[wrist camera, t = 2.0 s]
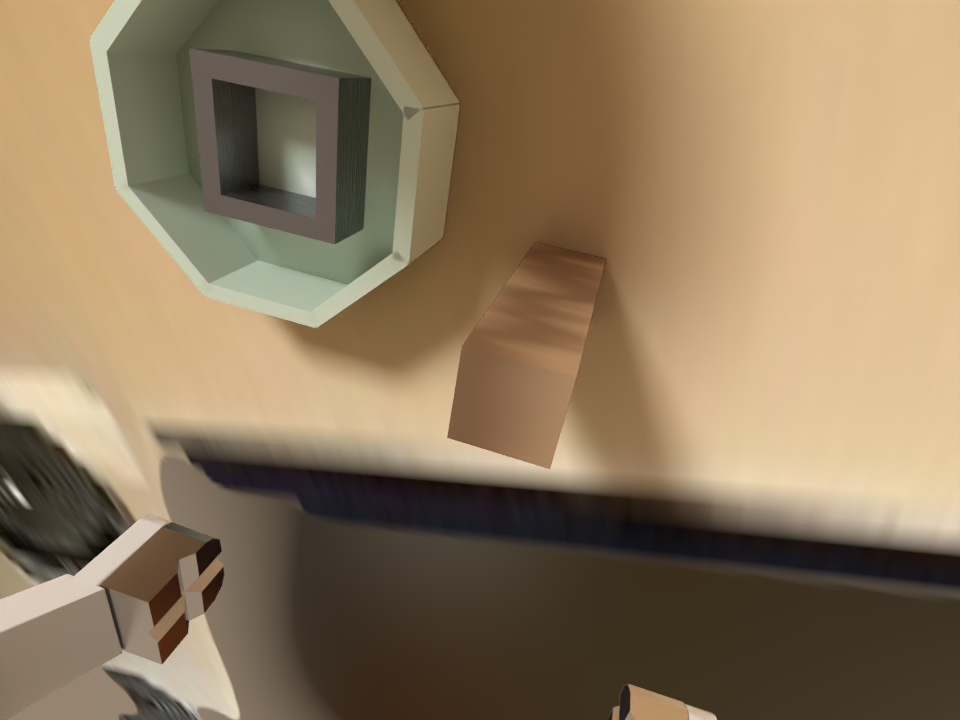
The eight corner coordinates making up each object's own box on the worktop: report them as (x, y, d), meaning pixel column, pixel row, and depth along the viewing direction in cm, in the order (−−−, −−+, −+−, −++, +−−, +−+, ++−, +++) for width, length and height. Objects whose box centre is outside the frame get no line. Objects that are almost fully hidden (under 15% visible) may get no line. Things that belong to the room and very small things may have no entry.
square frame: (371, 78, 25) (338, 78, 22) (363, 228, 28) (334, 244, 26) (235, 50, 26) (189, 47, 23) (243, 199, 29) (204, 211, 27)
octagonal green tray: (475, -15, 22) (437, -34, 18) (433, 316, 30) (400, 352, 26) (158, -67, 25) (66, -94, 21) (193, 251, 32) (130, 275, 28)
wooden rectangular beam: (605, 258, 26) (576, 377, 16) (587, 324, 28) (549, 469, 18) (535, 241, 27) (462, 345, 16) (521, 306, 28) (447, 437, 18)
